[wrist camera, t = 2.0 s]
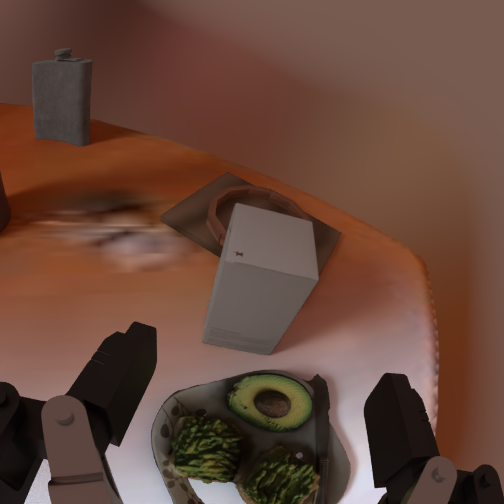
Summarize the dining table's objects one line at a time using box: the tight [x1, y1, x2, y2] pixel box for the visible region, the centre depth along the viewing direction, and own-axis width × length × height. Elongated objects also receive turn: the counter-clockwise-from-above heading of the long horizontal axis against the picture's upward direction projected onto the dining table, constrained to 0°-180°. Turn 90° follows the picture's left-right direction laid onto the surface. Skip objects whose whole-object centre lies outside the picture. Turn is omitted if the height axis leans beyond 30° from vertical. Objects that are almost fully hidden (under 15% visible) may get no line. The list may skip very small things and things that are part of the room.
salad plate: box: [151, 370, 350, 504], centre depth 20 cm, size 19×18×5 cm
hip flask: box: [32, 48, 93, 146], centre depth 44 cm, size 16×4×20 cm, turn 82°
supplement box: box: [202, 203, 319, 355], centre depth 28 cm, size 7×7×13 cm
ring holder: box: [161, 173, 341, 275], centre depth 43 cm, size 22×17×2 cm
